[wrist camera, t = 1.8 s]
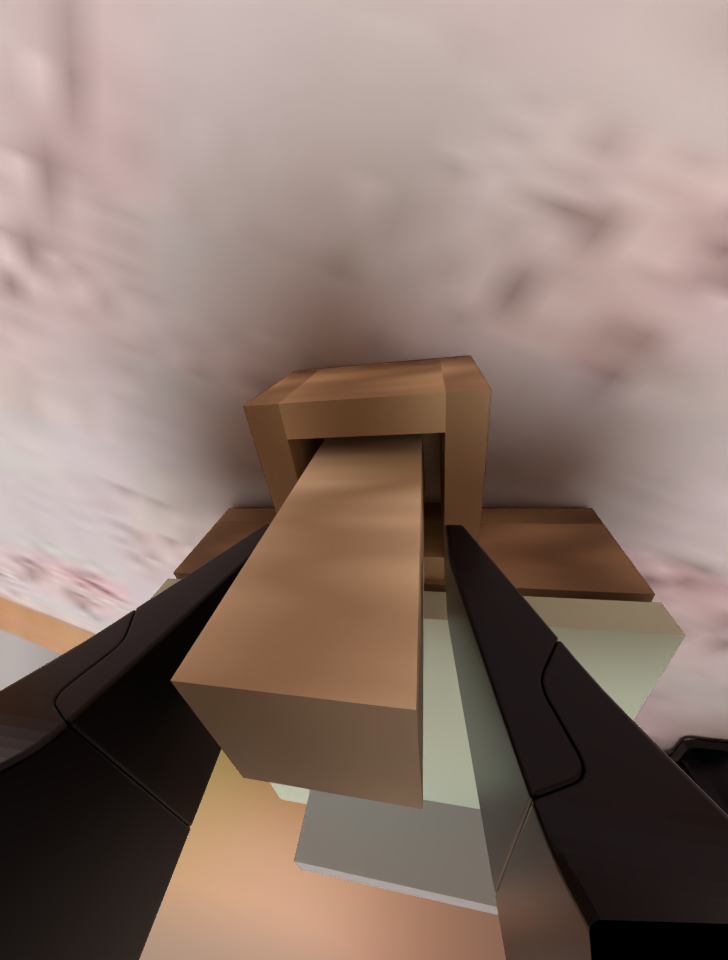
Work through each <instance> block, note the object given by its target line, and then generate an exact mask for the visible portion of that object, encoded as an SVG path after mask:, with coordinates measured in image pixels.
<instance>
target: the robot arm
mask: <svg viewBox="0 0 728 960" xmlns="http://www.w3.org/2000/svg"><path fill="white" fill-rule="evenodd" d="M270 524H271V523H267V524H265V525H264V526H262V527H261V528H259V529H258V530H256V531H255V532H253V533H252V534H250V535H249V536H247V537H245V538H244V539H242V540H241V541H239V542H238V543H236V544H235V545H233V546H232V547H230V548H229V549H227V550H225V551H224V552H222V553H221V554H219V555H218V556H216V557H215V558H213V559H212V560H210V561H209V562H207V563H206V564H204V565H202V566H201V567H199V568H198V569H196V570H195V571H193V572H192V573H190V574H189V575H187V576H186V577H184V578H182V579H181V580H179V581H178V582H176V583H175V584H173V585H172V586H170V587H169V588H167V589H166V590H164V591H162V592H161V593H159V594H158V595H156V596H155V597H153V598H152V599H150V600H149V601H147V602H146V603H144V604H142V605H141V606H139V607H138V608H137V609H136V611H135V610H134V611H132V612H130V613H128V614H127V615H125V616H124V617H122V618H121V619H119V620H118V621H116V622H115V623H113V624H112V625H110V626H108V627H107V628H105V629H104V630H102V631H101V632H99V633H97V634H96V635H94V636H93V637H91V638H89V639H88V640H86V641H85V642H83V643H81V644H79V645H78V646H76V647H74V648H73V649H71V650H69V651H68V652H66V653H64V654H63V655H61V656H59V657H58V658H56V659H54V660H53V661H51V662H49V663H47V664H46V665H44V666H42V667H41V668H39V669H37V670H35V671H34V672H32V673H30V674H29V675H27V676H25V677H24V678H22V679H20V680H18V681H17V682H15V683H13V684H11V685H10V686H8V687H6V688H5V689H3V690H1V691H0V960H139V959H140V956H141V953H142V951H143V948H144V946H145V943H146V941H147V938H148V936H149V933H150V931H151V928H152V925H153V923H154V920H155V918H156V915H157V913H158V910H159V908H160V905H161V902H162V900H163V897H164V895H165V892H166V890H167V887H168V885H169V882H170V880H171V877H172V874H173V872H174V869H175V867H176V864H177V861H178V859H179V857H180V854H181V851H182V849H183V846H184V844H185V841H186V839H187V836H188V834H189V831H190V827H189V826H191V825H192V823H193V820H194V817H195V815H196V812H197V810H198V807H199V805H200V802H201V800H202V797H203V794H204V792H205V789H206V787H207V784H208V782H209V779H210V777H211V774H212V772H213V769H214V766H215V764H216V761H217V758H218V756H219V754H220V751H221V747H220V746H219V745H218V743H217V742H216V741H215V739H214V738H213V737H212V735H211V734H210V733H209V731H208V730H207V729H206V727H205V726H204V725H203V723H202V722H201V721H200V719H199V718H198V717H197V715H196V714H195V713H194V711H193V710H192V709H191V707H190V706H189V705H188V703H187V702H186V701H185V699H184V698H183V697H182V696H181V694H180V693H179V692H178V690H177V689H176V688H175V686H174V685H173V684H172V682H171V681H170V680H171V679H172V677H173V676H174V674H175V673H176V671H177V669H178V668H179V666H180V665H181V663H182V662H183V660H184V658H185V657H186V655H187V654H188V652H189V651H190V649H191V648H192V646H193V644H194V643H195V641H196V640H197V638H198V637H199V635H200V633H201V632H202V630H203V629H204V627H205V626H206V624H207V623H208V621H209V619H210V618H211V616H212V615H213V613H214V612H215V610H216V608H217V607H218V605H219V604H220V602H221V601H222V599H223V597H224V596H225V594H226V593H227V591H228V590H229V588H230V587H231V585H232V583H233V582H234V580H235V579H236V577H237V576H238V574H239V572H240V571H241V569H242V568H243V566H244V565H245V563H246V562H247V560H248V558H249V557H250V555H251V554H252V552H253V551H254V549H255V547H256V546H257V544H258V543H259V541H260V540H261V538H262V536H263V535H264V533H265V532H266V530H267V529H268V527H269V526H270ZM444 561H445V582H446V604H447V618H448V625H449V632H450V638H451V643H452V649H453V655H454V661H455V667H456V672H457V678H458V684H459V690H460V695H461V701H462V707H463V713H464V719H465V724H466V730H467V736H468V742H469V747H470V753H471V759H472V765H473V771H474V776H475V782H476V788H477V794H478V799H479V805H480V811H481V817H482V823H483V828H484V834H485V840H486V846H487V852H488V857H489V863H490V869H491V875H492V880H493V886H494V891H495V893H496V895H495V898H496V904H497V910H498V916H499V921H500V927H501V933H502V939H503V944H504V950H505V955H506V960H728V744H727V743H718V742H710V741H701V740H686V741H684V742H682V744H681V745H680V746H679V747H678V748H677V750H676V751H675V752H674V753H673V754H672V756H671V757H669V756H668V755H667V754H666V753H665V752H664V751H663V750H662V749H661V748H660V747H659V746H658V745H657V744H656V743H655V742H654V741H653V740H652V739H651V738H650V737H649V736H648V735H647V734H646V733H645V732H644V731H643V730H642V729H641V728H640V727H639V726H638V725H637V724H636V723H635V722H634V721H633V720H632V719H631V718H630V717H629V716H628V715H627V714H626V713H625V712H624V711H623V710H622V709H621V707H620V706H619V705H618V704H617V703H616V702H615V701H614V700H613V699H612V698H611V697H610V696H609V695H608V694H607V693H606V692H605V691H604V690H603V689H602V688H601V686H600V685H599V684H598V683H597V682H596V681H595V680H594V679H593V677H592V676H591V675H590V674H589V673H588V672H587V671H586V670H585V668H584V667H583V666H582V665H581V664H580V663H579V662H578V660H577V659H576V658H575V657H574V656H573V655H572V653H571V652H570V651H569V650H568V649H567V647H566V646H565V645H564V644H563V643H562V642H561V641H558V637H557V636H556V635H555V633H554V632H553V631H552V630H551V629H550V628H549V626H548V625H547V624H546V623H545V622H544V620H543V619H542V618H541V617H540V616H539V615H538V613H537V612H536V611H535V610H534V609H533V607H532V606H531V605H530V604H529V603H528V602H527V600H526V599H525V598H524V597H523V596H522V594H521V593H520V592H519V591H518V590H517V589H516V587H515V586H514V585H513V584H512V583H511V581H510V580H509V579H508V578H507V577H506V576H505V574H504V573H503V572H502V571H501V570H500V568H499V567H498V566H497V565H496V564H495V563H494V561H493V560H492V559H491V558H490V557H489V555H488V554H487V553H486V552H485V551H484V550H483V548H482V547H481V546H480V545H479V544H478V542H477V541H476V540H475V539H474V538H473V537H472V535H471V534H470V533H469V532H468V531H467V529H466V528H465V527H464V526H463V525H446V526H445V529H444Z"/></svg>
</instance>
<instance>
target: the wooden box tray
mask: <svg viewBox="0 0 728 960" xmlns="http://www.w3.org/2000/svg"><path fill="white" fill-rule="evenodd" d="M490 400H491V388H490V386H489V385H488V383H487V382H486V380H485V378H484V377H483V375H482V373H481V372H480V370H479V368H478V367H477V365H476V364H475V362H474V360H473V359H472V357H471V356H461V357H449V358H438V359H427V360H415V361H404V362H392V363H381V364H370V365H358V366H347V367H336V368H324V369H313V370H301V371H294V372H292V373H291V374H290V375H288V376H287V377H285V378H284V379H282V380H281V381H279V382H278V383H276V384H275V385H273V386H272V387H270V388H269V389H268V390H266V391H265V392H263V393H262V394H260V395H259V396H257V397H256V398H254V399H253V400H251V401H250V402H249V403H247V404H246V405H244V406H243V408H244V411H245V414H246V417H247V420H248V424H249V427H250V430H251V433H252V437H253V440H254V443H255V446H256V449H257V453H258V456H259V459H260V462H261V466H262V469H263V472H264V475H265V478H266V482H267V485H268V488H269V491H270V495H271V498H272V501H273V504H274V508H229V509H228V510H227V511H226V512H225V514H224V515H223V516H222V517H221V518H220V519H219V521H218V522H217V523H216V524H215V525H214V526H213V527H212V529H211V530H210V531H209V532H208V533H207V534H206V536H205V537H204V538H203V539H202V540H201V541H200V542H199V544H198V545H197V546H196V547H195V548H194V549H193V551H192V552H191V553H190V554H189V555H188V556H187V557H186V559H185V560H184V561H183V562H182V563H181V564H180V566H179V567H178V568H177V569H176V570H175V571H174V575H175V576H176V578H177V579H182V578H184V577H186V576H187V575H189V574H190V573H192V572H193V571H195V570H196V569H198V568H199V567H201V566H202V565H204V564H206V563H207V562H209V561H210V560H212V559H213V558H215V557H216V556H218V555H219V554H221V553H222V552H224V551H225V550H227V549H229V548H230V547H232V546H233V545H235V544H236V543H238V542H239V541H241V540H242V539H244V538H245V537H247V536H249V535H250V534H252V533H253V532H255V531H256V530H258V529H259V528H261V527H262V526H264V525H265V524H267V523H271V522H272V521H273V519H274V518H275V516H276V515H277V513H278V511H279V510H280V508H281V507H282V505H283V504H284V502H285V500H286V499H287V497H288V496H289V494H290V493H291V491H292V490H293V488H294V486H295V485H296V483H297V482H298V480H299V479H300V477H301V475H302V474H303V472H304V471H305V469H306V468H307V466H308V465H309V463H310V461H311V460H312V458H313V457H314V455H315V454H316V452H317V450H318V449H319V447H320V446H321V444H322V443H323V441H324V439H325V438H332V437H355V436H378V435H400V434H423V456H424V591H430V592H446V582H445V561H444V529H445V526H446V525H463V526H464V527H465V528H466V529H467V531H468V532H469V533H470V534H471V535H472V537H473V538H474V539H475V540H476V541H477V542H478V544H479V545H480V546H481V547H482V548H483V550H484V551H485V552H486V553H487V554H488V555H489V557H490V558H491V559H492V560H493V561H494V563H495V564H496V565H497V566H498V567H499V568H500V570H501V571H502V572H503V573H504V574H505V576H506V577H507V578H508V579H509V580H510V581H511V583H512V584H513V585H514V586H515V587H516V589H517V590H518V591H519V592H520V593H521V594H522V596H533V597H553V598H574V599H594V600H614V601H635V602H651V601H652V599H653V597H654V595H655V593H654V592H653V591H652V589H651V588H650V587H649V585H648V584H647V582H646V581H645V580H644V578H643V577H642V576H641V574H640V573H639V572H638V570H637V569H636V568H635V566H634V565H633V563H632V562H631V561H630V559H629V558H628V557H627V555H626V554H625V553H624V551H623V550H622V548H621V547H620V546H619V544H618V543H617V542H616V540H615V539H614V538H613V536H612V535H611V533H610V532H609V531H608V529H607V528H606V527H605V525H604V524H603V523H602V521H601V520H600V519H599V517H598V516H597V514H596V513H595V512H594V510H593V509H592V508H482V498H483V485H484V473H485V461H486V449H487V436H488V424H489V412H490Z"/></svg>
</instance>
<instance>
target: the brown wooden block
mask: <svg viewBox="0 0 728 960" xmlns="http://www.w3.org/2000/svg"><path fill="white" fill-rule="evenodd" d="M423 665H424V456H423V434H400V435H378V436H355V437H332V438H325V439H324V441H323V443H322V444H321V446H320V447H319V449H318V450H317V452H316V454H315V455H314V457H313V458H312V460H311V461H310V463H309V465H308V466H307V468H306V469H305V471H304V472H303V474H302V475H301V477H300V479H299V480H298V482H297V483H296V485H295V486H294V488H293V490H292V491H291V493H290V494H289V496H288V497H287V499H286V500H285V502H284V504H283V505H282V507H281V508H280V510H279V511H278V513H277V515H276V516H275V518H274V519H273V521H272V522H271V524H270V526H269V527H268V529H267V530H266V532H265V533H264V535H263V536H262V538H261V540H260V541H259V543H258V544H257V546H256V547H255V549H254V551H253V552H252V554H251V555H250V557H249V558H248V560H247V562H246V563H245V565H244V566H243V568H242V569H241V571H240V572H239V574H238V576H237V577H236V579H235V580H234V582H233V583H232V585H231V587H230V588H229V590H228V591H227V593H226V594H225V596H224V597H223V599H222V601H221V602H220V604H219V605H218V607H217V608H216V610H215V612H214V613H213V615H212V616H211V618H210V619H209V621H208V623H207V624H206V626H205V627H204V629H203V630H202V632H201V633H200V635H199V637H198V638H197V640H196V641H195V643H194V644H193V646H192V648H191V649H190V651H189V652H188V654H187V655H186V657H185V658H184V660H183V662H182V663H181V665H180V666H179V668H178V669H177V671H176V673H175V674H174V676H173V677H172V679H171V680H170V681H171V682H172V684H173V685H174V686H175V688H176V689H177V690H178V692H179V693H180V694H181V696H182V697H183V698H184V699H185V701H186V702H187V703H188V705H189V706H190V707H191V709H192V710H193V711H194V713H195V714H196V715H197V717H198V718H199V719H200V721H201V722H202V723H203V725H204V726H205V727H206V729H207V730H208V731H209V733H210V734H211V735H212V737H213V738H214V739H215V741H216V742H217V743H218V745H219V746H220V747H221V749H222V750H223V751H224V753H225V754H226V755H227V757H228V758H229V759H230V761H231V762H232V763H233V765H234V766H235V767H236V769H237V770H238V771H239V772H240V774H241V775H242V776H243V778H249V779H254V780H260V781H265V782H271V783H277V784H282V785H288V786H293V787H299V788H305V789H310V790H316V791H322V792H327V793H333V794H338V795H344V796H350V797H355V798H361V799H366V800H372V801H378V802H383V803H389V804H395V805H400V806H406V807H411V808H417V809H423Z"/></svg>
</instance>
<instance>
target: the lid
mask: <svg viewBox="0 0 728 960" xmlns="http://www.w3.org/2000/svg"><path fill="white" fill-rule="evenodd" d="M179 580H181V579H167V581H166V582H165V583H164V584H163V585H162V586H161V588H160V589H159V590H158V591H157V592H156V593H155V594H154V596H153V597H155V596H156V595H158V594H159V593H161V592H162V591H164V590H166V589H167V588H169V587H170V586H172V585H173V584H175V583H176V582H178V581H179ZM153 597H152V598H153ZM523 597H524V598H525V599H526V600H527V602H528V603H529V604H530V605H531V606H532V607H533V609H534V610H535V611H536V612H537V613H538V615H539V616H540V617H541V618H542V619H543V620H544V622H545V623H546V624H547V625H548V626H549V628H550V629H551V630H552V631H553V632H554V633H555V635H556V636H557V637H558V641H561V642H562V643H563V644H564V645H565V646H566V647H567V649H568V650H569V651H570V652H571V653H572V655H573V656H574V657H575V658H576V659H577V660H578V662H579V663H580V664H581V665H582V666H583V667H584V668H585V670H586V671H587V672H588V673H589V674H590V675H591V676H592V677H593V679H594V680H595V681H596V682H597V683H598V684H599V685H600V686H601V688H602V689H603V690H604V691H605V692H606V693H607V694H608V695H609V696H610V697H611V698H612V699H613V700H614V701H615V702H616V703H617V704H618V705H619V706H620V707H621V709H622V710H623V711H624V712H625V713H626V714H627V715H628V716H629V717H630V718H631V719H632V720H634V718H635V717H636V715H637V714H638V712H639V710H640V709H641V707H642V705H643V704H644V702H645V701H646V699H647V697H648V696H649V694H650V692H651V691H652V689H653V688H654V686H655V684H656V683H657V681H658V679H659V678H660V676H661V675H662V673H663V671H664V670H665V668H666V666H667V665H668V663H669V662H670V660H671V658H672V657H673V655H674V653H675V652H676V650H677V649H678V647H679V645H680V644H681V642H682V640H683V639H684V637H685V634H684V633H683V631H682V630H681V629H680V627H679V626H678V625H677V623H676V622H675V621H674V619H673V618H672V616H671V615H670V614H669V612H668V611H667V610H666V608H665V607H664V606H663V604H662V603H655V602H635V601H614V600H594V599H574V598H553V597H533V596H523ZM152 598H151V599H152ZM270 784H271V785H272V786H273V788H274V789H275V791H276V792H277V794H278V796H279V797H280V799H282V800H288V801H293V802H298V803H304V804H307V806H306V810H305V815H304V819H303V823H302V828H301V832H300V837H299V841H298V845H297V850H296V854H295V858H294V862H295V863H296V864H297V865H298V866H299V868H300V869H301V870H305V871H309V872H313V873H318V874H322V875H326V876H331V877H335V878H340V879H344V880H348V881H353V882H357V883H361V884H366V885H370V886H374V887H379V888H383V889H387V890H392V891H396V892H401V893H405V894H409V895H413V896H418V897H422V898H427V899H431V900H435V901H439V902H444V903H448V904H452V905H457V906H462V907H465V908H470V909H474V910H478V911H483V912H488V913H492V914H496V915H498V910H497V904H496V898H495V895H496V893H495V891H494V886H493V880H492V875H491V869H490V863H489V857H488V852H487V846H486V840H485V834H484V828H483V823H482V817H481V811H480V805H479V799H478V794H477V788H476V782H475V776H474V771H473V765H472V759H471V753H470V747H469V742H468V736H467V730H466V724H465V719H464V713H463V707H462V701H461V695H460V690H459V684H458V678H457V672H456V667H455V661H454V655H453V649H452V643H451V638H450V632H449V625H448V618H447V604H446V592H430V591H424V665H423V809H417V808H411V807H406V806H400V805H395V804H389V803H383V802H378V801H372V800H366V799H361V798H355V797H350V796H344V795H338V794H333V793H327V792H322V791H316V790H310V789H305V788H299V787H293V786H288V785H282V784H277V783H271V782H270Z"/></svg>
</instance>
